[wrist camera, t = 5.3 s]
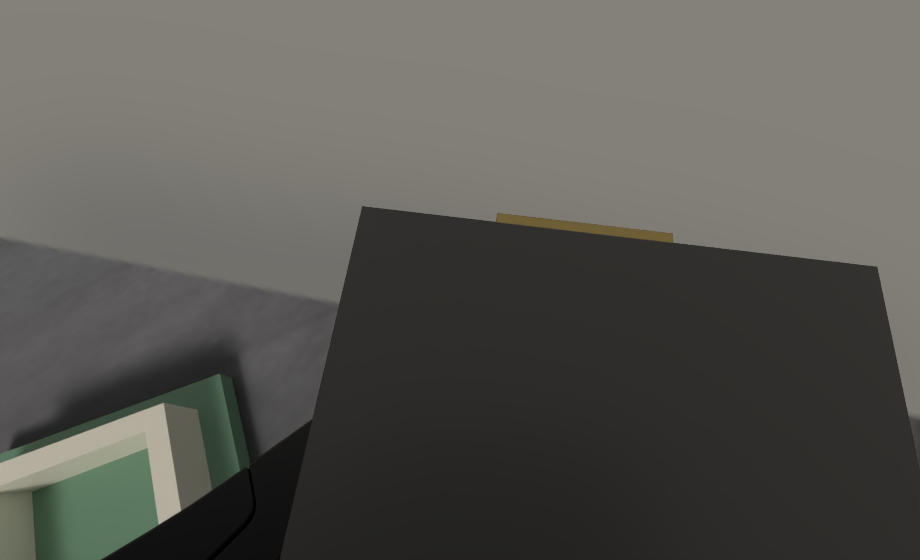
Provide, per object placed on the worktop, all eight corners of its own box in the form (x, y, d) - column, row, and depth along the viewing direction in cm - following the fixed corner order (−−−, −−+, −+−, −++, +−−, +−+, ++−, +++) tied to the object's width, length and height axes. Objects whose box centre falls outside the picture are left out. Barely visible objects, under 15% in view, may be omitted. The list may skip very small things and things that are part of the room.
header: (283, 615, 19) (243, 649, 15) (15, 734, 17) (-97, 803, 14) (231, 378, 22) (190, 362, 18) (4, 462, 21) (-88, 462, 17)
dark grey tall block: (552, 561, 13) (1059, 1083, 2) (410, 540, 13) (183, 925, 2) (561, 393, 15) (868, 195, 4) (434, 377, 15) (371, 138, 4)
